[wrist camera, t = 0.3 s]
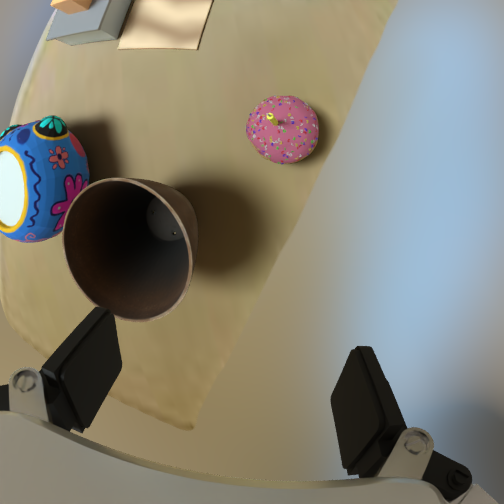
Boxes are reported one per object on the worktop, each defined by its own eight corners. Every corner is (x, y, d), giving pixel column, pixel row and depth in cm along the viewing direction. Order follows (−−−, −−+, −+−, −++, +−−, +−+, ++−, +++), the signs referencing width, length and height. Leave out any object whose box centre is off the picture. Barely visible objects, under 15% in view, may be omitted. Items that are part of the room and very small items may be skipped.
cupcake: (240, 149, 36) (228, 148, 25) (262, 92, 34) (260, 67, 22) (300, 171, 37) (315, 180, 26) (322, 115, 34) (346, 101, 23)
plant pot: (200, 279, 43) (170, 343, 28) (116, 243, 42) (57, 287, 27) (235, 188, 38) (215, 212, 23) (140, 153, 37) (74, 158, 22)
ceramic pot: (110, 115, 35) (46, 107, 21) (109, 228, 41) (51, 263, 27) (35, 127, 35) (-27, 131, 21) (37, 222, 41) (-19, 249, 27)
